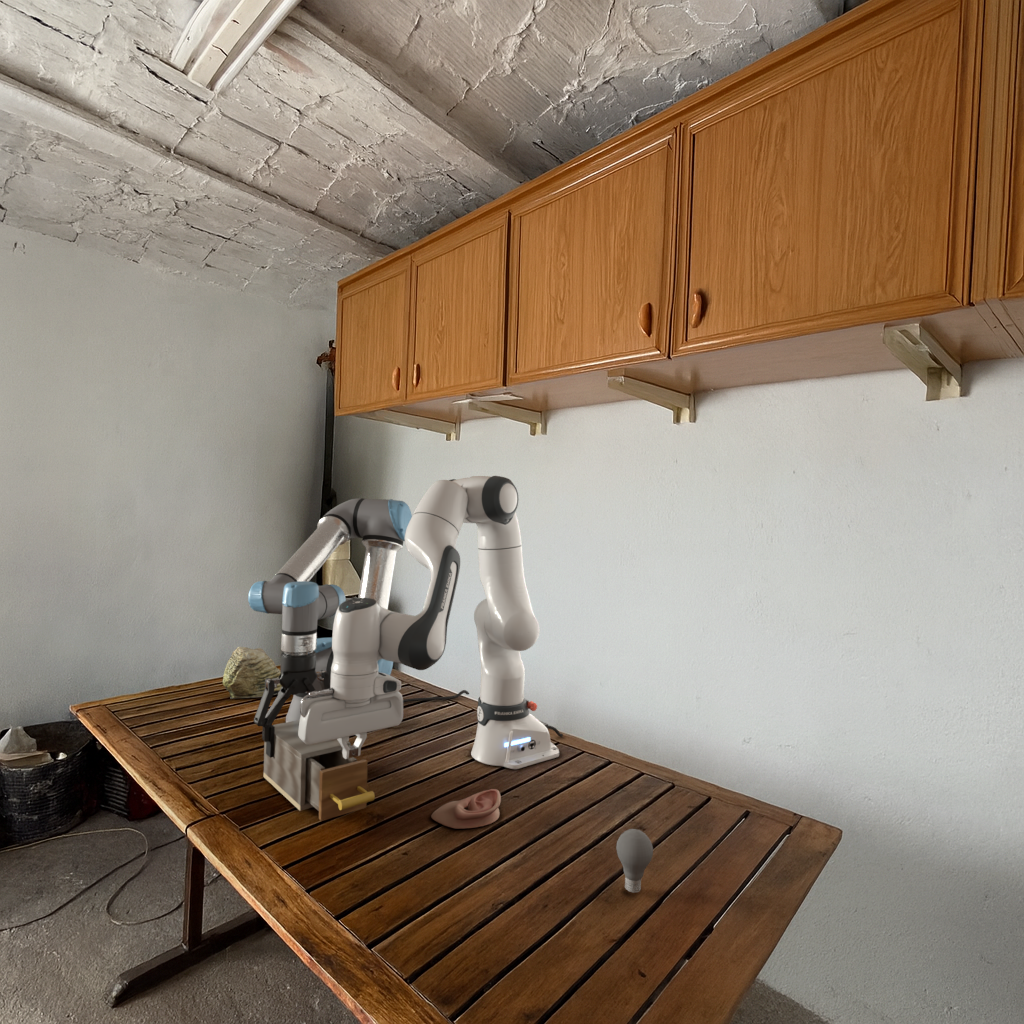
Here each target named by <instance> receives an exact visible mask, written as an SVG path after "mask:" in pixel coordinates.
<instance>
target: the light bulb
mask: <svg viewBox="0 0 1024 1024" xmlns="http://www.w3.org/2000/svg"><path fill="white" fill-rule="evenodd" d="M615 849H616V854H617V857H618V859H619V861H620V863H621V865H622V867H623V873H624V874H623V875H624V876H625V878H624V888H625V890H627V891H628V892H630V893H634V894H635V893H639V892H640V891H641V889H642V887H641V886H642V879H643V877H644V875H645V871H646V868H647V867H648V866H649V864H650V863H651V861H652V859H653V855H654V847H653V843H652V841H651V838H649V836H648V835H647V834H646V833H645V832H643V831H642V830H641V829H636V828H629V829H627V830H625V831H623V832H622V833H621V834H620V835H619V837H618V839H617V841H616V847H615Z"/></svg>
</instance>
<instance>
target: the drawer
mask: <svg viewBox="0 0 1024 1024" xmlns="http://www.w3.org/2000/svg"><path fill="white" fill-rule="evenodd" d="M342 753H343V750H339V751H335V752H331V753H327V754H322V755H318V756H314V757H310V758H306V786H305V800H307V801H308V802H309V803H310V804H311V805H312V806H313V807H312V808H314V809H315V810H317V812H318V820H319V821H320V822H324V821H327V820H330V819H333V818H336V817H340V816H344V815H346V814H349V813H352V812H356V811H359V810H363V809H365V808H367V804H368V803H369V802H373V801H375V798H376V797H375V795H376V794H375V792H374V791H373V790H370V791H368V760H367V759H361V760H358V759H357V758H356V757H352V758H348V759H345V758H343V755H342Z"/></svg>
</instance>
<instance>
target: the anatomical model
mask: <svg viewBox="0 0 1024 1024" xmlns="http://www.w3.org/2000/svg"><path fill="white" fill-rule="evenodd" d="M501 802H502V796H501V792H500V791H499V790H498V789H496V788H491V789H486V790H483V791H480V792H477V793H474V794H472V795H469V796H468V797H465V798H463V799H460V800H452V801H449V802H447V803H445V804H443V805H441V806H439V807H438V808H437V809H435V810H434V811H433V812H432V814H431V815H430V817H431V819H432V820H433V821H435V822H436V823H439V824H440V825H442V826H445V827H448V828H450V829H458V830H459V829H464V830H465V829H474V828H479V827H480V828H481V827H484V826H488V825H491V824H492V823H495V822H496V821H497V820H498V819H499V818H500V814H501V813H500V809H499V807H500V805H501Z"/></svg>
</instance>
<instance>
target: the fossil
mask: <svg viewBox="0 0 1024 1024" xmlns="http://www.w3.org/2000/svg"><path fill="white" fill-rule="evenodd" d="M280 673H281V670H280V669H279V668H278V667H277V665H276V663H275V662H274V660H273V659H272V658H271V657H270V656H269V655H268V654H267V653H266V652H265V650H264V649H263V648H260V647H258V648H251V647H247V646H246V647H245V646H238V647H237V648H236V649H235V650H233V651H232V653H231V656H230V657H229V659H228V660H227V663H226V666H225V668H224V671H223V675H222V676H223V677H222V685H223V687H224V688H225V690H226V691H228V693H229V698H230V699H250V698H262V696H263V693H264V690H265V680H266V678H270V679H274V678H278V677H279V675H280ZM281 687H282V686H281V684H280V683H279V684H278V685H277V688H275V689H274V694H273V696H275V695H278V692H279V691H280V689H281Z"/></svg>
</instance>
